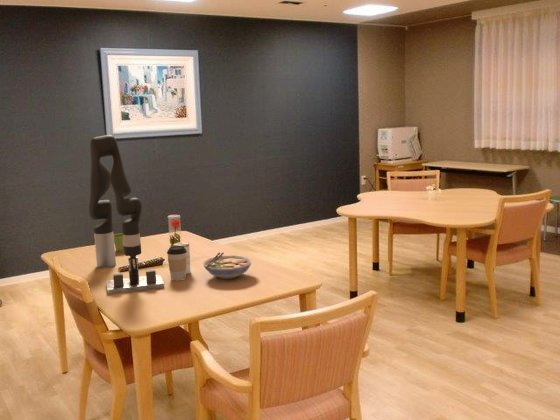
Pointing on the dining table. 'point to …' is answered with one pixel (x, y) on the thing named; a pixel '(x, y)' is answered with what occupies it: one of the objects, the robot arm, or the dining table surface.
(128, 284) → the panel
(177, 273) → the coffee cup
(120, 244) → the plant pot
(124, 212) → the robot arm
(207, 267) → the ramen bowl
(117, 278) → the block
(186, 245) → the syrup box
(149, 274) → the block
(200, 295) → the dining table surface
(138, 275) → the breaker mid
